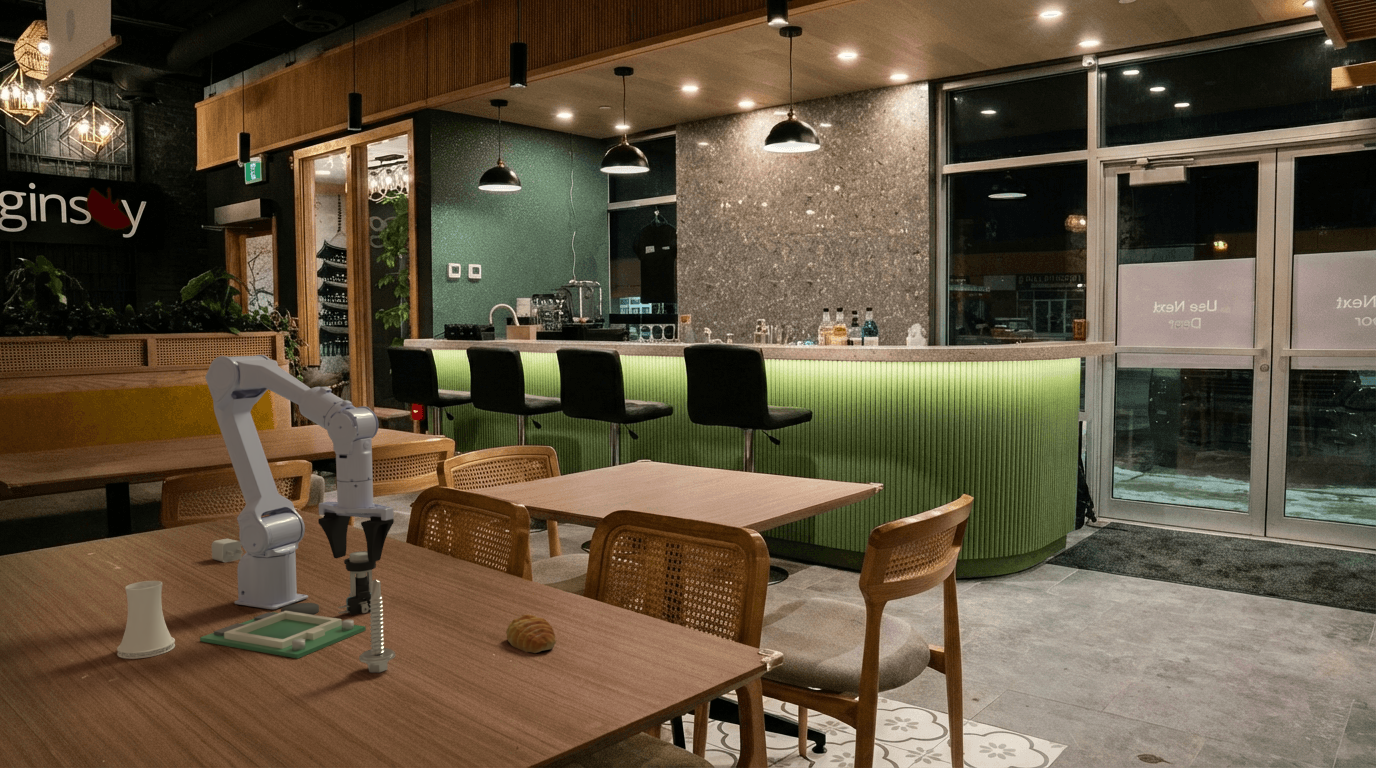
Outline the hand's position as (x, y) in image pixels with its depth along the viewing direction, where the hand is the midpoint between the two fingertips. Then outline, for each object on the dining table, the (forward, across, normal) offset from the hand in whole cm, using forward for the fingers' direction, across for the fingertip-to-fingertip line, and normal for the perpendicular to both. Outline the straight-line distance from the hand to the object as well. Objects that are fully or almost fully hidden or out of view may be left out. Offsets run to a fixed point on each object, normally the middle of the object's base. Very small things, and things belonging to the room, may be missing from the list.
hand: (357, 559), depth 159 cm
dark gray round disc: (+10, -9, -4) cm, 14 cm away
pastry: (+10, +36, -2) cm, 37 cm away
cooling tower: (+9, -16, -27) cm, 33 cm away
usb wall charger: (+9, -51, +18) cm, 55 cm away
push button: (+9, 0, 0) cm, 9 cm away
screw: (+9, +22, -20) cm, 31 cm away
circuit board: (+9, -2, -14) cm, 17 cm away
